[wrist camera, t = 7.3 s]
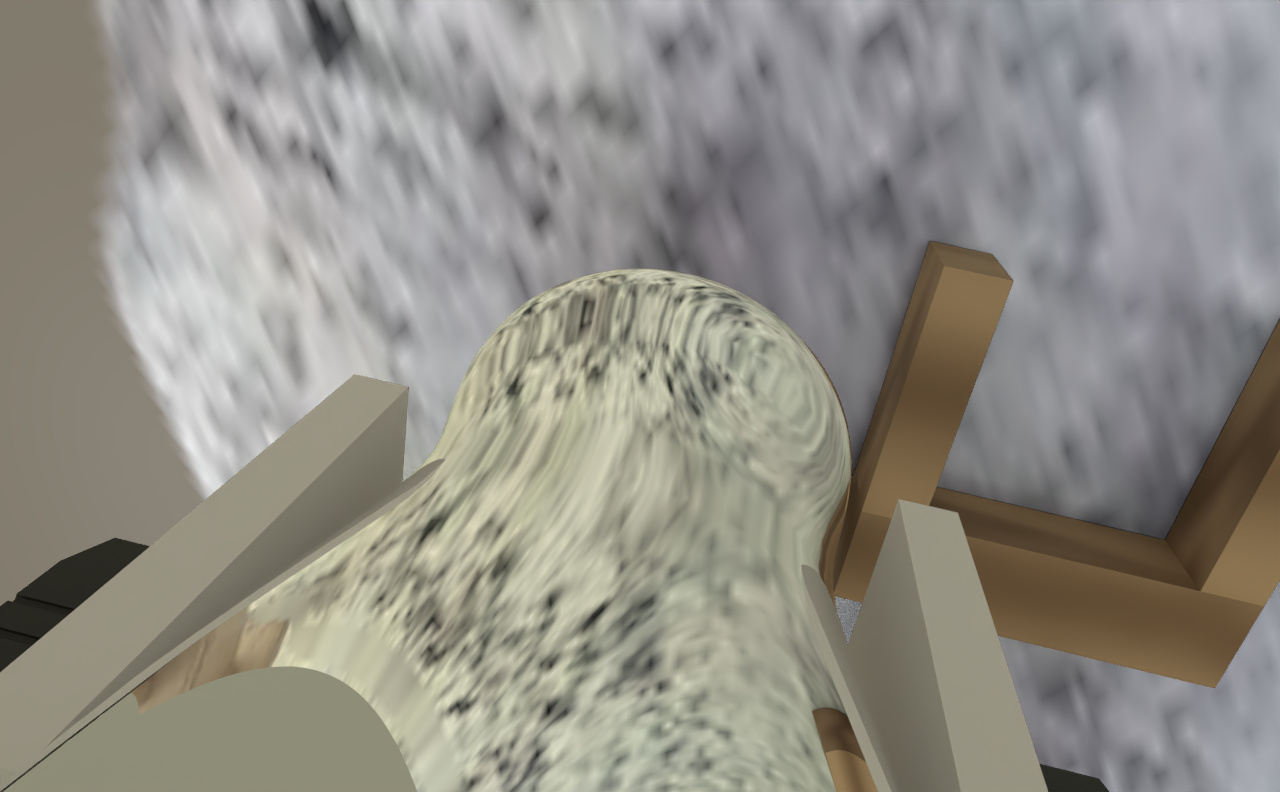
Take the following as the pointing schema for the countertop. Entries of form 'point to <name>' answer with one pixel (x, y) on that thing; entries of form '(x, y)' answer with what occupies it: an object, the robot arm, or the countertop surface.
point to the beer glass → (546, 587)
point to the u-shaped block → (1060, 546)
